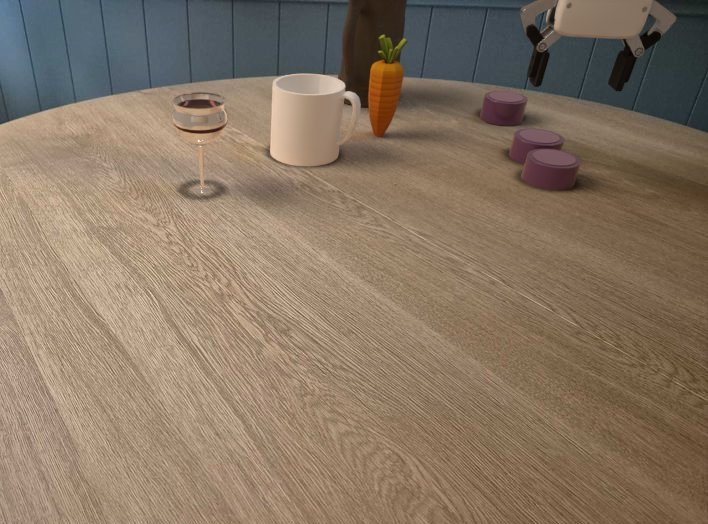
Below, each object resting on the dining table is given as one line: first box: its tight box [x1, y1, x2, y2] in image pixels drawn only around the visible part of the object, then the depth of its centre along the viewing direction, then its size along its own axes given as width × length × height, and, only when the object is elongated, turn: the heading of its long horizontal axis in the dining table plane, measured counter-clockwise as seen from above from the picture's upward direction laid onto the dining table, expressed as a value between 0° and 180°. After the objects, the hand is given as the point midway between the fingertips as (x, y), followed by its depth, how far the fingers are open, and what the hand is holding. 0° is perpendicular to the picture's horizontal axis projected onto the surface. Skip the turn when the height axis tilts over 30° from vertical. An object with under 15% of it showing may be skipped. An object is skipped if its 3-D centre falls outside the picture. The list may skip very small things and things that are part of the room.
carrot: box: [368, 35, 409, 138], centre depth 98 cm, size 5×5×15 cm
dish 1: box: [479, 90, 529, 127], centre depth 109 cm, size 7×7×4 cm
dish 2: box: [508, 127, 565, 165], centre depth 95 cm, size 7×7×4 cm
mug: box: [269, 73, 362, 167], centre depth 93 cm, size 13×10×10 cm
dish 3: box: [520, 149, 582, 191], centre depth 89 cm, size 7×7×4 cm
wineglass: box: [171, 91, 229, 194], centre depth 83 cm, size 7×7×12 cm
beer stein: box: [337, 0, 408, 108], centre depth 111 cm, size 15×11×20 cm
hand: (574, 85), depth 82 cm, fingers open, 9 cm apart
